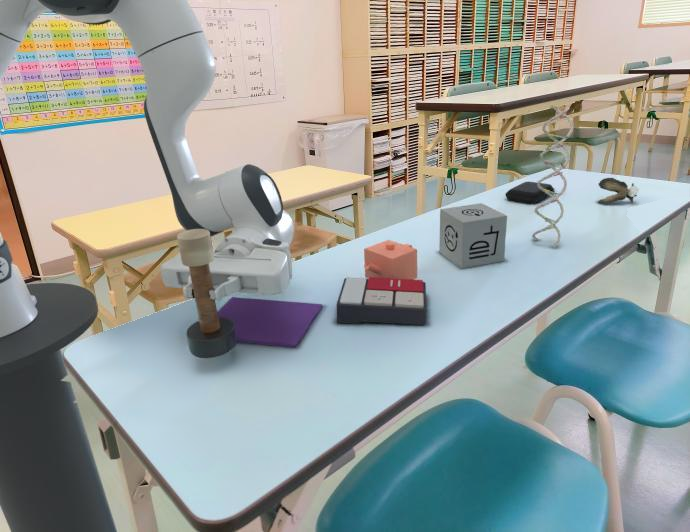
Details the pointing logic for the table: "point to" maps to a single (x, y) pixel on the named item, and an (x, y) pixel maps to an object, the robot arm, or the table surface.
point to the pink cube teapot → (390, 261)
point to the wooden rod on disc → (204, 298)
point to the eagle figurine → (617, 190)
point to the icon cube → (472, 235)
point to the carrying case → (528, 192)
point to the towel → (269, 320)
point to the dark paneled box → (382, 301)
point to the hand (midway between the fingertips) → (200, 295)
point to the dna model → (554, 173)
